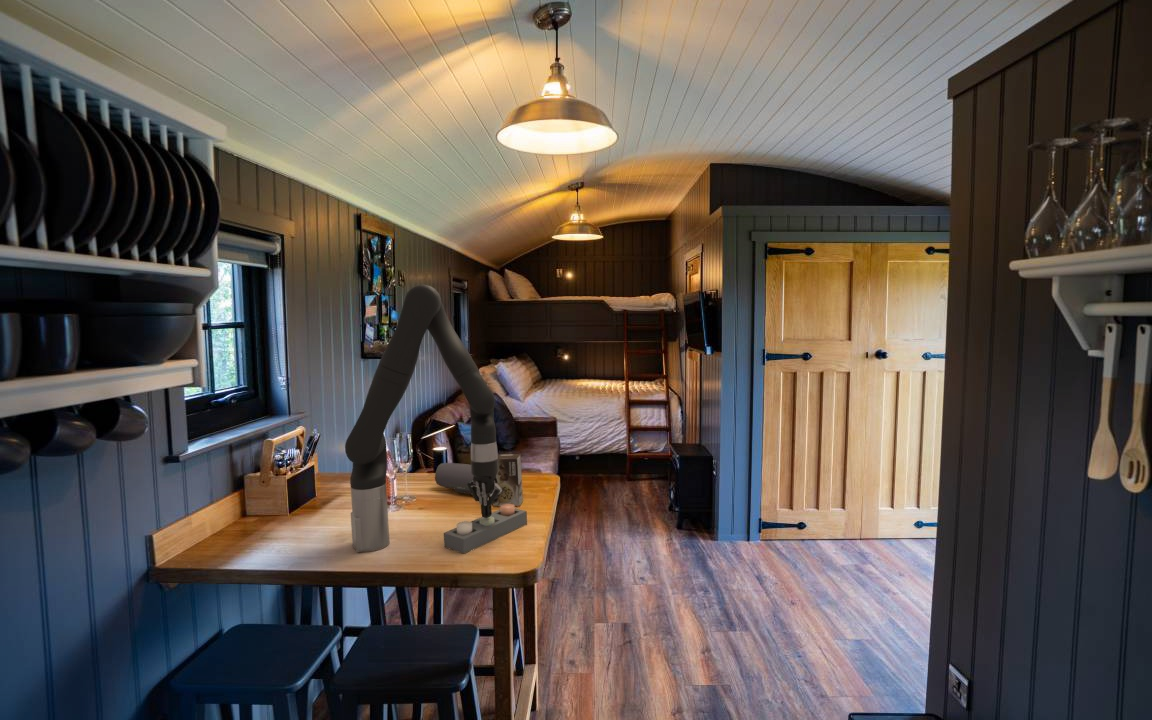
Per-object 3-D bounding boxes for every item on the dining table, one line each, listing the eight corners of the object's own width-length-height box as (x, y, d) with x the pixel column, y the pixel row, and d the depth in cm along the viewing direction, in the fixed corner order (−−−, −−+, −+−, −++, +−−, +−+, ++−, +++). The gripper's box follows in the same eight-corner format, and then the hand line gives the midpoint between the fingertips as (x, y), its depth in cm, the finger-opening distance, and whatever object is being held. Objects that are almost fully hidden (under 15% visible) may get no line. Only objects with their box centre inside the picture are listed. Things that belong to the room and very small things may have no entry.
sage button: (487, 533, 159) (486, 522, 159) (476, 530, 162) (476, 519, 162) (497, 528, 163) (497, 518, 162) (487, 525, 165) (487, 515, 165)
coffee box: (523, 500, 192) (521, 453, 191) (519, 506, 186) (517, 458, 184) (497, 500, 193) (495, 453, 192) (492, 506, 187) (490, 458, 185)
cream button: (464, 539, 153) (463, 528, 152) (453, 536, 155) (453, 525, 155) (475, 534, 156) (475, 523, 156) (465, 531, 158) (464, 520, 158)
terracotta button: (508, 520, 166) (507, 509, 166) (497, 517, 169) (497, 506, 168) (517, 515, 169) (517, 505, 169) (507, 513, 172) (507, 502, 172)
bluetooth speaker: (502, 491, 202) (500, 464, 201) (486, 499, 194) (485, 471, 193) (451, 484, 212) (449, 458, 211) (434, 492, 204) (433, 465, 203)
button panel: (464, 553, 150) (463, 539, 150) (444, 547, 155) (443, 532, 155) (527, 524, 170) (526, 511, 170) (507, 518, 175) (507, 506, 174)
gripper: (510, 457, 160) (512, 517, 161) (477, 451, 168) (479, 508, 169) (491, 463, 154) (493, 525, 155) (458, 457, 162) (460, 516, 163)
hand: (486, 516), depth 162 cm, fingers closed
